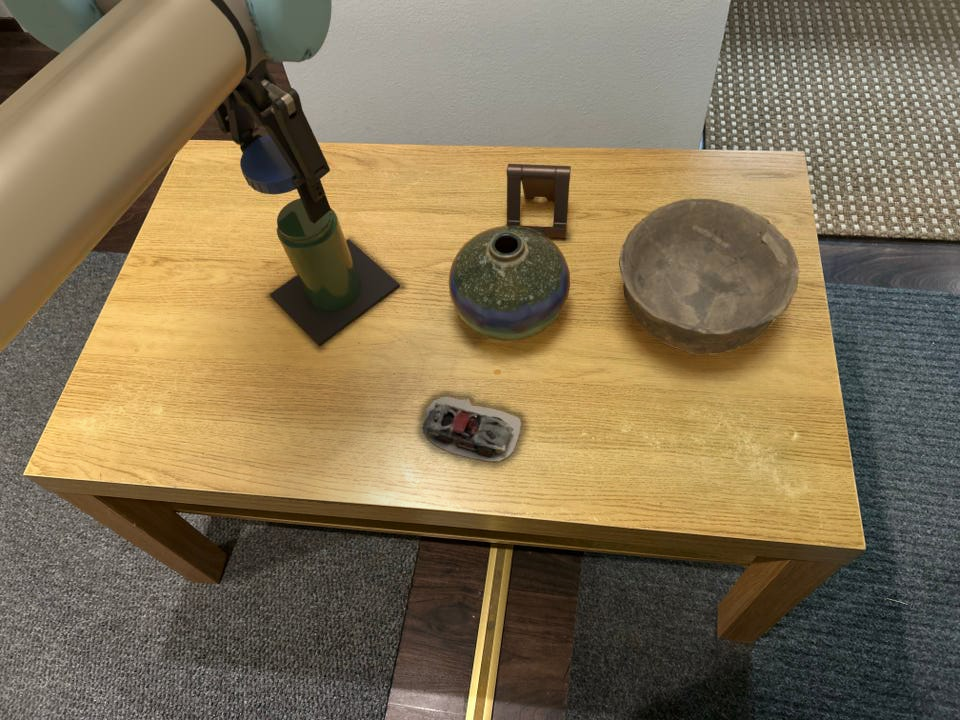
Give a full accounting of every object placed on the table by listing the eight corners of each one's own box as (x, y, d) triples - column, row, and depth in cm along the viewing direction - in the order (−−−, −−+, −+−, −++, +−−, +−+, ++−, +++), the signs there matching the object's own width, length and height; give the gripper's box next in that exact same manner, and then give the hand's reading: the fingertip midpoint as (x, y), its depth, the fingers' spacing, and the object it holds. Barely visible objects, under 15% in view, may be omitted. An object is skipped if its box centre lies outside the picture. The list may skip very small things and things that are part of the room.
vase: (454, 269, 97) (441, 201, 85) (563, 261, 96) (566, 191, 85) (454, 362, 89) (441, 300, 77) (574, 354, 88) (578, 291, 76)
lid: (332, 165, 77) (328, 152, 75) (273, 206, 74) (267, 193, 72) (289, 133, 80) (284, 120, 79) (231, 171, 77) (225, 159, 76)
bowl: (623, 241, 97) (630, 189, 88) (776, 258, 93) (799, 206, 85) (603, 364, 87) (609, 319, 78) (774, 390, 83) (800, 345, 74)
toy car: (518, 463, 81) (517, 453, 78) (417, 457, 82) (413, 446, 79) (522, 400, 85) (522, 388, 82) (427, 395, 86) (423, 383, 84)
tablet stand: (504, 237, 99) (500, 195, 92) (510, 197, 103) (508, 154, 96) (565, 240, 98) (567, 198, 91) (569, 200, 102) (571, 156, 95)
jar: (328, 321, 93) (295, 250, 81) (297, 290, 96) (260, 217, 84) (372, 288, 95) (346, 215, 83) (340, 259, 99) (310, 184, 86)
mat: (319, 346, 92) (318, 344, 91) (270, 296, 97) (269, 294, 96) (400, 286, 96) (399, 283, 95) (349, 241, 101) (348, 238, 101)
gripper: (326, 32, 59) (380, 217, 78) (179, -36, 67) (260, 147, 86) (262, 79, 56) (334, 259, 76) (116, 2, 64) (215, 183, 84)
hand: (295, 199), depth 81 cm, fingers closed on lid, 8 cm apart
